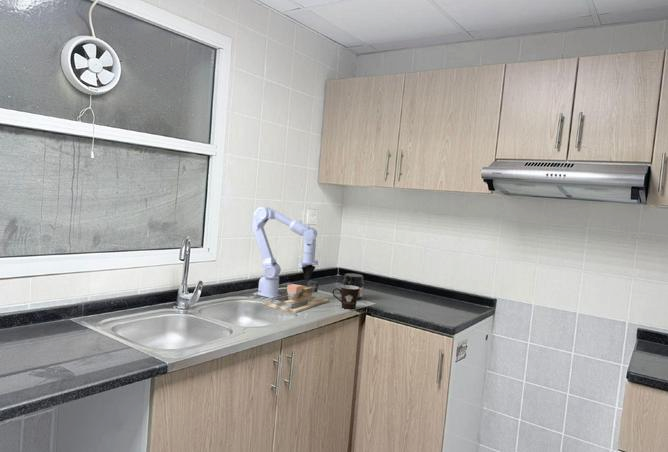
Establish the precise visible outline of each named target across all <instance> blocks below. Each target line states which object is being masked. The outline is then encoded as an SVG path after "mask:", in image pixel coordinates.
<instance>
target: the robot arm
mask: <svg viewBox="0 0 668 452" xmlns="http://www.w3.org/2000/svg"><path fill="white" fill-rule="evenodd" d="M269 220H276V221H278V222H280V223H282V224H284V225H286V226H288V227H289V228H290V230H291V231H292V232H294V233H295V234H297V235H299V236H300V237H303V238H304V242H303V250H302V251H303V254H302V255H303V256H302V261H300V262H298V268H301V270H302V272H303V278H304V281H307V282H308V281H310V280H311V278H312V275H313V272H314V271H315V269H316V266H317V265H319V260H316V259H315V257H316V247H317V246H316V245H317V240H316V239H317V237H318V231H317V230H316V229H315V228H314V227H311V226H310V225H308V224H306V223H303V222H302V220H301V219H300V220H298V219H295V220H293V219H291V218H289V217H288V216H286V215H284V214H283V213H281V212H279V211H278V210H276V209H274V208H271V207H269V206H264V207H263V206H259V207H258V208H257V209H256V210H255V211H254V213H253V219H252V224H251V225H252V226H251V227H252V231H253V233H254V237H255V239H256V241H257V246H258V249H259V251H260V254H261V258H262V260H263V262H262V263H263V264H262V267H263V275H264V276H262V277H260V279H259V281H258V292H257V293H256V295H258V296H261V297H266V298H271V299H275V298H279V297H283V296H282V294H279V286H280V276H279V275H280V273H281V271H282V269H281V266H280V264H278V262H277V260H276V258H275V257H274V255H273V252H272V249H271V246H270V244H269V240H268V237H267V234H266V231H265V228H264V227H265V226H266V224H267V222H268V221H269ZM315 265H316V266H315Z"/></svg>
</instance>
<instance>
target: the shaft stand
mask: <svg viewBox="0 0 668 452" xmlns="http://www.w3.org/2000/svg"><path fill="white" fill-rule="evenodd" d="M300 285H301V284H300ZM301 286H302V293H301V296H298V297H295V298H292V297H288V294H287V295H283V296H278V297H275V298H271V300H270V301H267V302H264V305H263V306H265V307H269V308H274V309H277V310H282V311H287V312H290V313H298V312H301V311H304V310H308V309H311V308H314V307H317V306H320V305H323V304H326V303H329V302H330V299H327V298H323V297H318V296H313V293H312V287H308V285H307V286H306V285H301Z"/></svg>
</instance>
